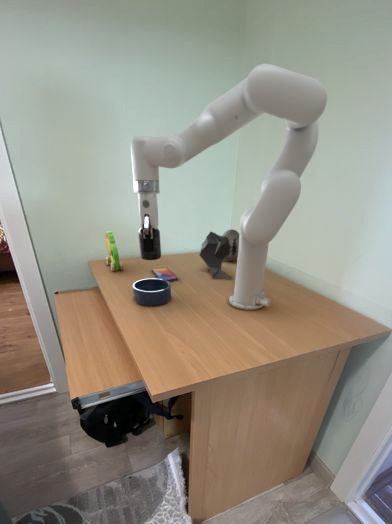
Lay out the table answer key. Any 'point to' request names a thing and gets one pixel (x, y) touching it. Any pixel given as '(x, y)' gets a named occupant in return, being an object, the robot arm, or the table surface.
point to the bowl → (152, 292)
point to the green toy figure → (112, 253)
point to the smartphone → (164, 274)
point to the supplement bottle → (157, 246)
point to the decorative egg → (232, 244)
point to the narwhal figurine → (215, 254)
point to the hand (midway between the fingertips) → (150, 248)
